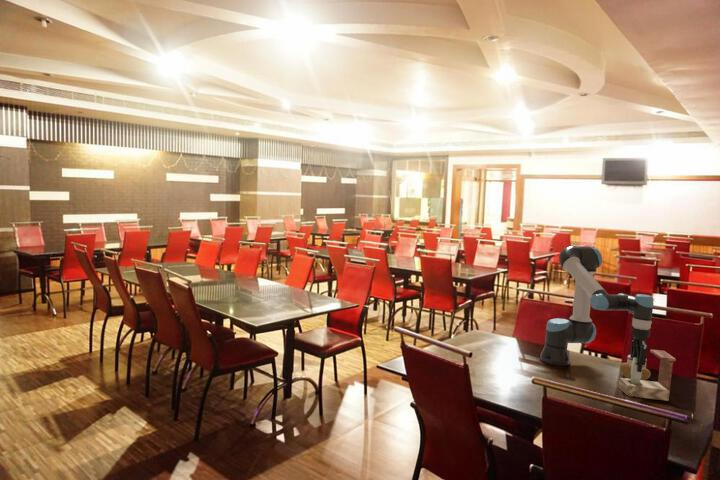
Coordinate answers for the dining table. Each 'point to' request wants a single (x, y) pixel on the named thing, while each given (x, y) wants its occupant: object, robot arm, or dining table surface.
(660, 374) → the socket stand
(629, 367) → the potato
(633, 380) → the peg
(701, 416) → the dining table surface
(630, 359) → the teacup with lid
